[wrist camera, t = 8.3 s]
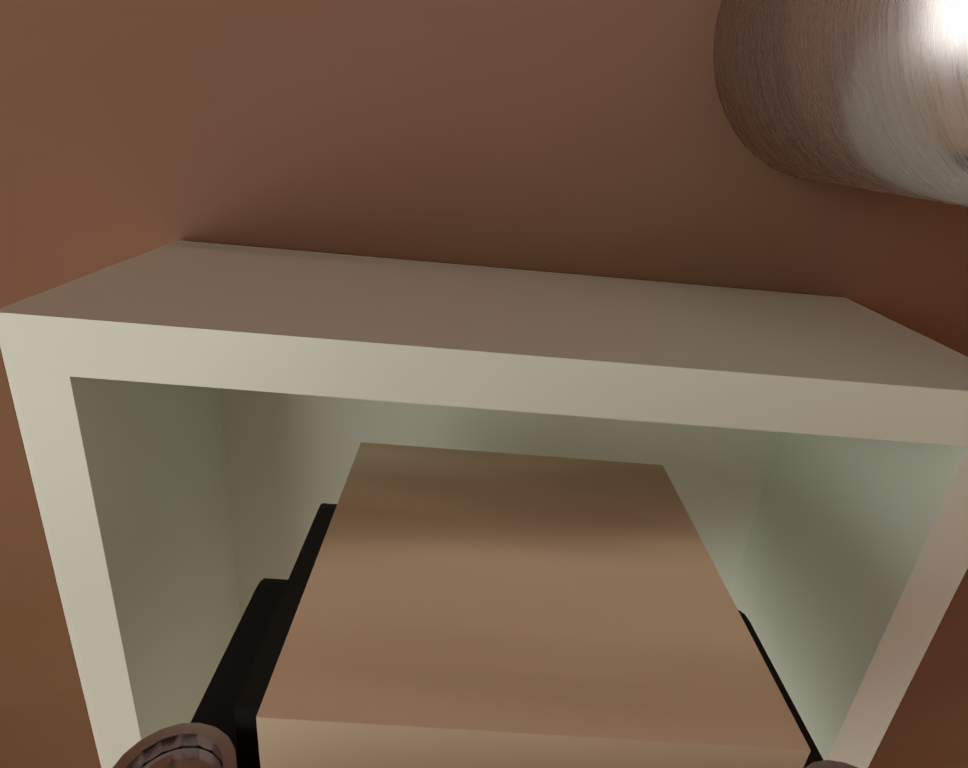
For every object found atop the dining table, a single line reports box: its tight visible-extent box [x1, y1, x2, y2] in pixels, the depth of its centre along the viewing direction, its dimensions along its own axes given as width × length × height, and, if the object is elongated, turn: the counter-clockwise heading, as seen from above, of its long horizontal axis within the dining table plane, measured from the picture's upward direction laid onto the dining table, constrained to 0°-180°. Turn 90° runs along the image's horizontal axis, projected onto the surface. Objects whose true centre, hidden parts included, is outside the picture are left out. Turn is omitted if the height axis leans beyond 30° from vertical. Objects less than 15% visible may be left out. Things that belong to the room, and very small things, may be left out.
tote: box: [0, 240, 968, 768], centre depth 14 cm, size 18×14×5 cm
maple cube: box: [256, 442, 811, 768], centre depth 9 cm, size 5×5×5 cm
